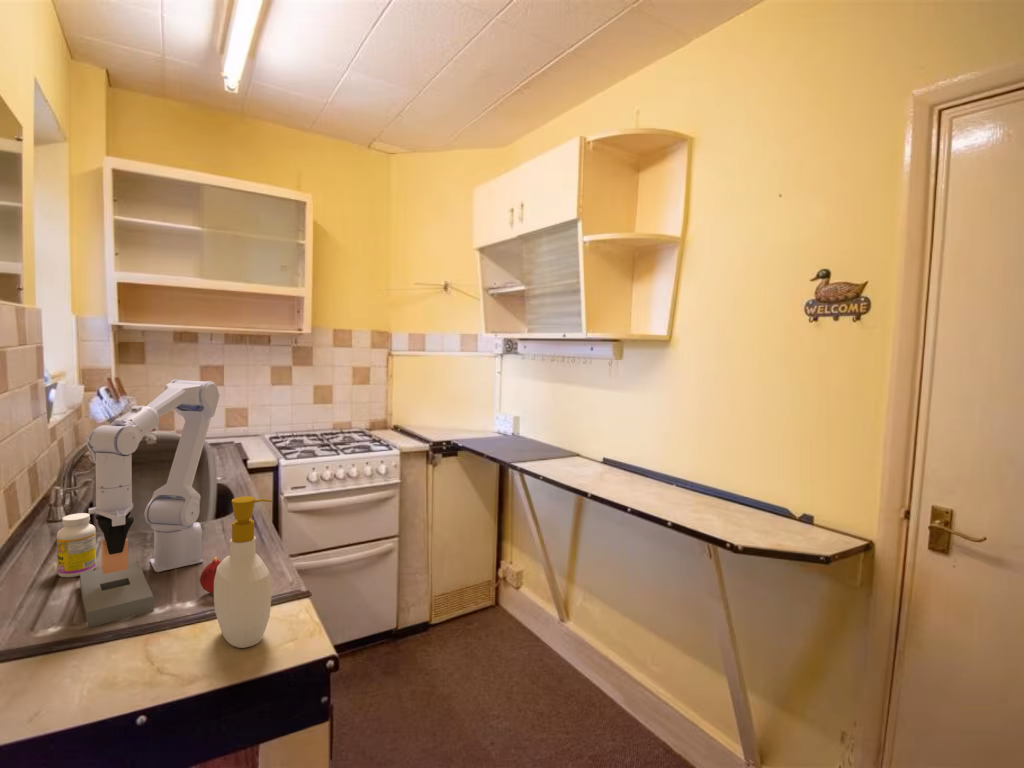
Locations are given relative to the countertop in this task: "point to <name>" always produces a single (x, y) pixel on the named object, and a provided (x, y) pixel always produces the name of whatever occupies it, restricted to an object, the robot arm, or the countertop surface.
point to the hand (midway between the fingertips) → (114, 550)
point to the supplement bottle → (76, 546)
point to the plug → (114, 559)
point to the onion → (209, 575)
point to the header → (115, 594)
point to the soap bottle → (242, 582)
